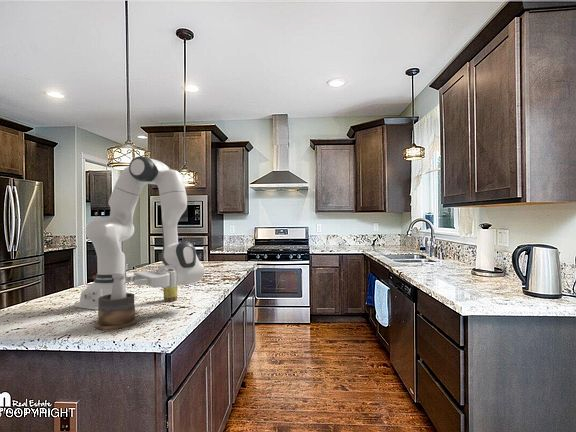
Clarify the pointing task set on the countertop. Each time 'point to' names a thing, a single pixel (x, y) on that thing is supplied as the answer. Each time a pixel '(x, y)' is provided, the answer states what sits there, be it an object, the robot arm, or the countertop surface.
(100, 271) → the robot arm
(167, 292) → the sauce bottle
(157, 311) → the countertop surface
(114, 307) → the brown pot
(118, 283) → the salt shaker
